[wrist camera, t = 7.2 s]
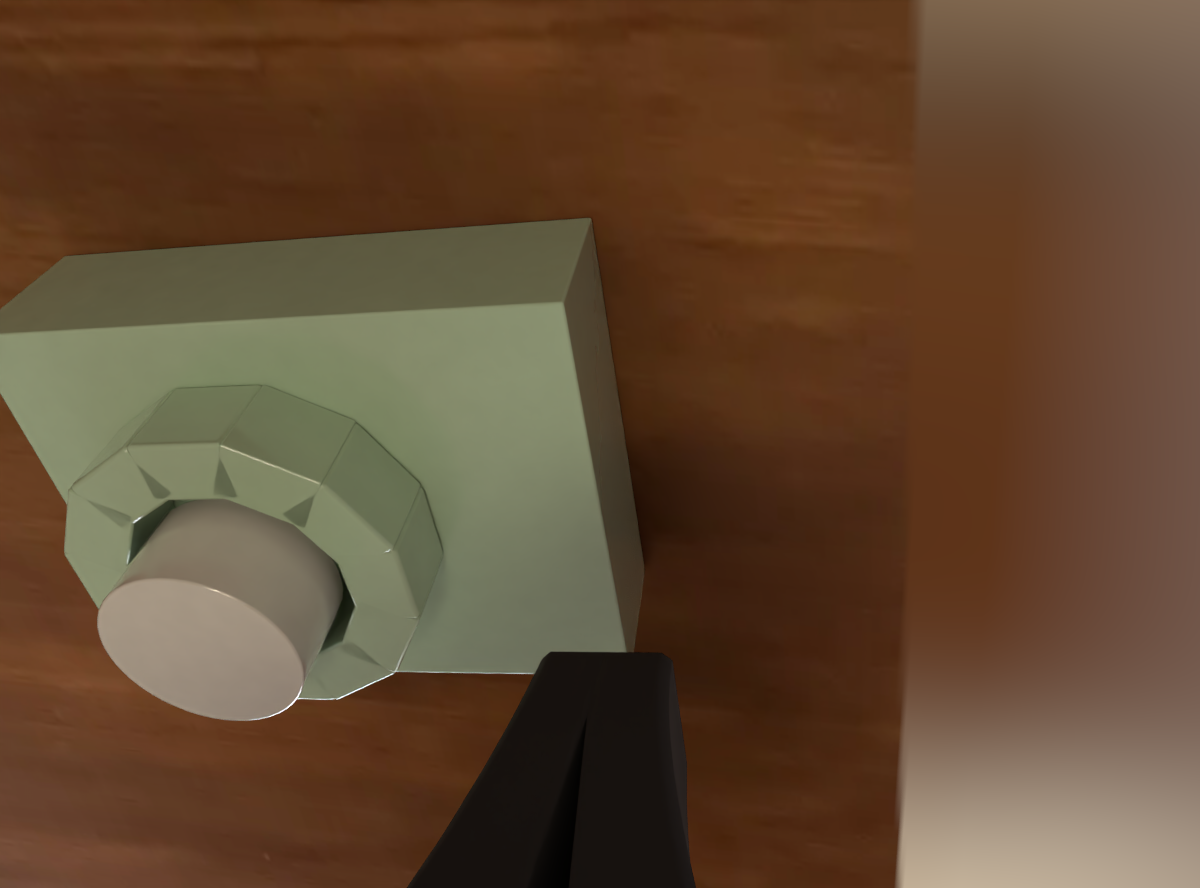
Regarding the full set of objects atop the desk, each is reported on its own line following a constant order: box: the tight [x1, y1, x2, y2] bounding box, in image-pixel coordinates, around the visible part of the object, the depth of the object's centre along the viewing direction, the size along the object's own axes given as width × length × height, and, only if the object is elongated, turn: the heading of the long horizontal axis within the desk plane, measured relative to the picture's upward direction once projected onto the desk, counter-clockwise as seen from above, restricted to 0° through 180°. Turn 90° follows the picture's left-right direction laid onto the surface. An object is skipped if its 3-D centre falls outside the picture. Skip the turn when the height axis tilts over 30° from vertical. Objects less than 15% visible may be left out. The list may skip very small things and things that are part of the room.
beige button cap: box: [97, 499, 343, 721], centre depth 18 cm, size 4×4×2 cm
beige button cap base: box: [0, 218, 645, 700], centre depth 20 cm, size 11×9×5 cm
